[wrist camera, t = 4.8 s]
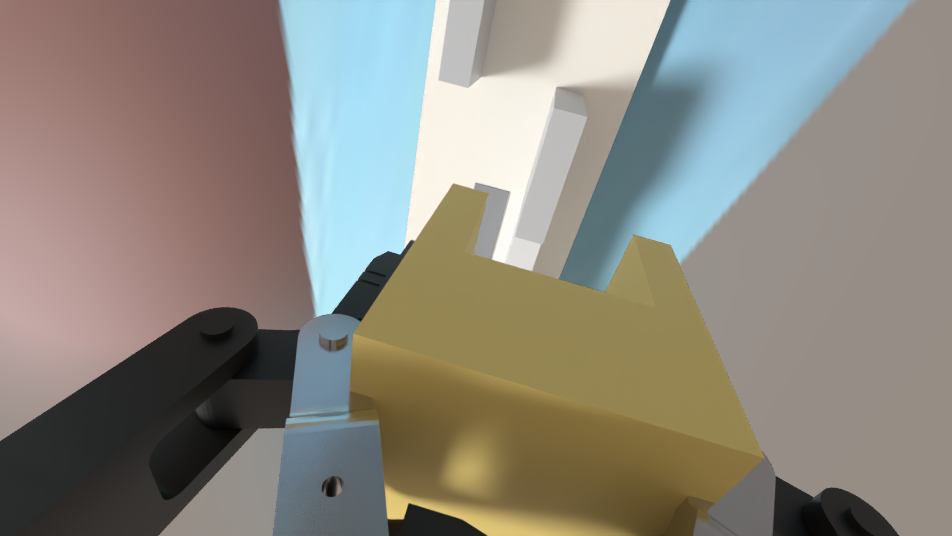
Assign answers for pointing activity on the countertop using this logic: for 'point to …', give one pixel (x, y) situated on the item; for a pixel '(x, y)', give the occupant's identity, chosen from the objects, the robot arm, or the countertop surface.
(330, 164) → the countertop surface
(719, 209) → the countertop surface
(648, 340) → the yellow block
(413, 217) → the rail plate
